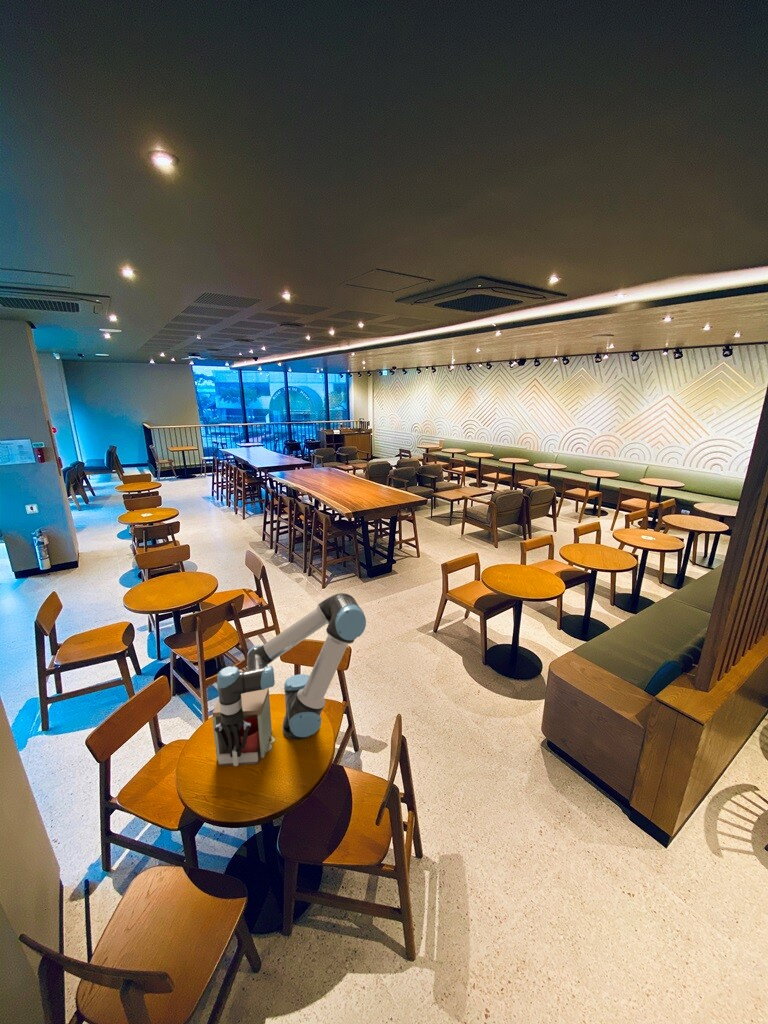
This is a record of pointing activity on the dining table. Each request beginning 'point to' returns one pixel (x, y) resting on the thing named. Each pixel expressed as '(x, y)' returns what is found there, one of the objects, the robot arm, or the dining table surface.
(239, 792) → the dining table surface
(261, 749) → the beige open box
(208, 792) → the dining table surface
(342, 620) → the robot arm
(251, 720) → the flower pot
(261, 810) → the dining table surface
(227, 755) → the tray
